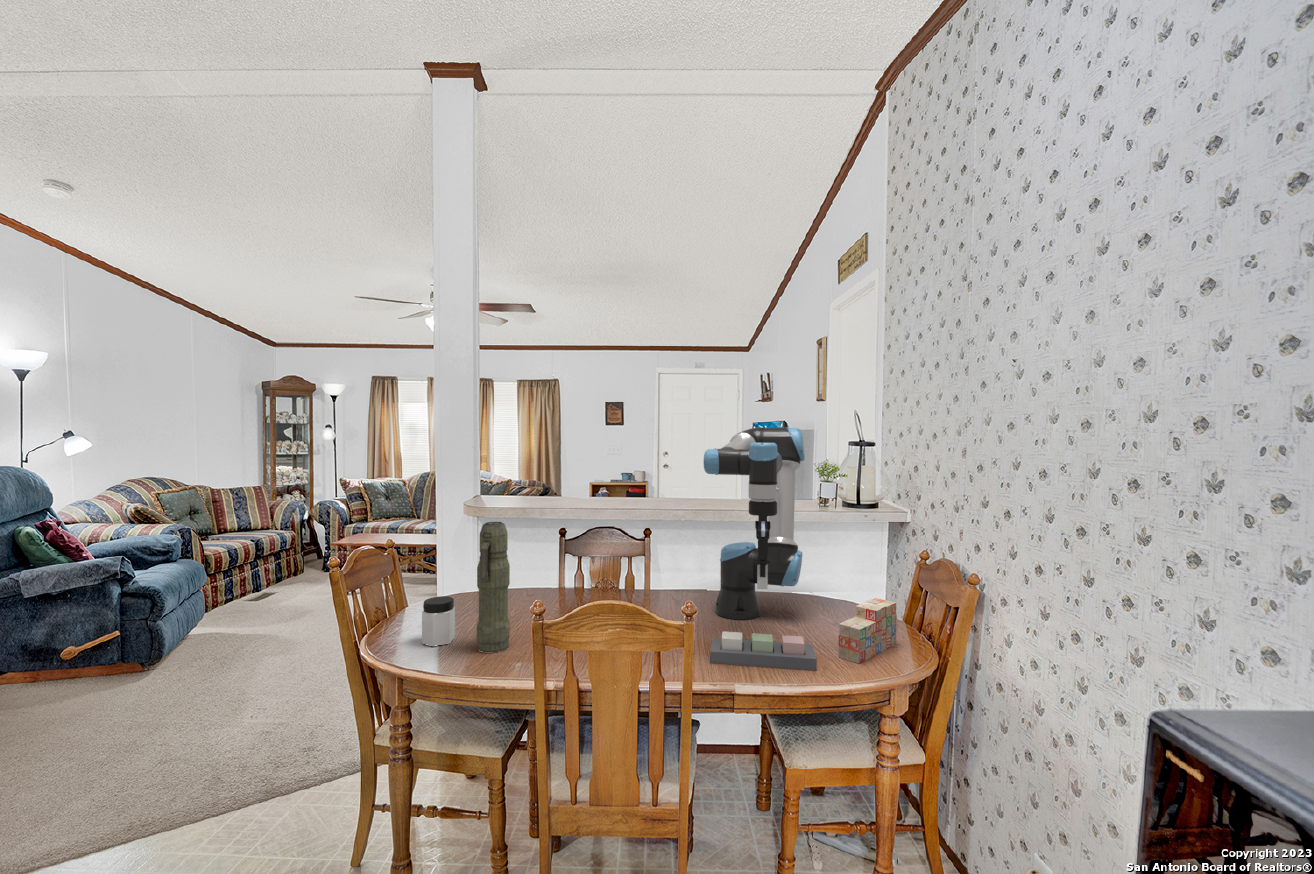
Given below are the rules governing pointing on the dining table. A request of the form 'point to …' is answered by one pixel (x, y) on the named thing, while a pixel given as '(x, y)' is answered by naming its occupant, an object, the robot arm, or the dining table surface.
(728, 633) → the white button
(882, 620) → the stack of blocks
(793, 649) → the rose button
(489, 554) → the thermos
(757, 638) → the sage button
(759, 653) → the button panel
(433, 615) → the jar
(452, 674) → the dining table surface
